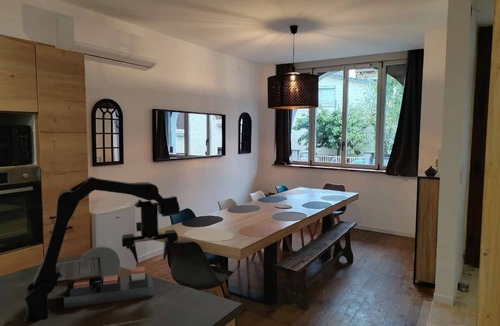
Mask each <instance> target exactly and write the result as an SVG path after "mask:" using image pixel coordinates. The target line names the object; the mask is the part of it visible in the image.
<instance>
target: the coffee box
mask: <svg viewBox="0 0 500 326" xmlns="http://www.w3.org/2000/svg"><path fill="white" fill-rule="evenodd" d="M56 267H60V276H59V278H58V280H57V286H55V287H54V289H53V290H56V289H62V288H67V287H68V286H69V285H72V282H75V280H82V279H90V280H93V282H96V281H101V279H102V263H101V259H100V257H97V258H90V259H84V260H80V259H77V260H71V261H64V262H57V263H56Z"/></svg>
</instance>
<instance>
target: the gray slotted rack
mask: <svg viewBox="0 0 500 326" xmlns="http://www.w3.org/2000/svg"><path fill="white" fill-rule="evenodd" d="M103 280H104V278H102V279H101V282H94V283H93V280H90V287H82V288H74V287H73V285H74V282H72V285H69V286H68V287H66V291H65V293H64V296H63V308H64V309H70V308H77V307H84V306H90V305H92V306H93V305H98V304H104V303H105V304H106V303H112V302H120V301H125V300H132V299H141V298H146V297H154V295H155V292H154V291H155V286H154V281H153V276H152V275H148V273H147V272H145V279H144V280H136V281H132V279H131V274H128V278H127V277H126V278H121V276H118V283H114V284H106V285H103Z"/></svg>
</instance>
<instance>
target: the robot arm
mask: <svg viewBox="0 0 500 326" xmlns="http://www.w3.org/2000/svg"><path fill="white" fill-rule="evenodd" d="M94 191H101V192H109V193H114V194H115V193H117V194H123V195H124V194H125V195H129V196H130V195H131V196H134V197H137V198H139V199H138V200H137V202H135V203H134V207H136V208H137V209H138V208H140V221H139V222H136V223H135V224H136V225H135V227H136V232H140V235H138V236H137V235H134V234H135V233H129V234H123V235H122V236H121V246H122V247H123V248H124V247H126V249H127V250H128V249H129V251H130V252H131V253H132V255H133V257H134V260H135V262H136V265H137V264H139V257H138V254H137V253H138V252H137V248H136V243H137V242H146V241H147V242H148V241H157V240H163V242H164V243H163V254H162V258H163V261H166V257H167V254H168V253H169V250H170V248H171V246H172V245H173V244H174V243H175V242H177V241H178V240H179V238H178V237H179V235H178V233H177V230H175V229H169V230H168V229H166V230H164V232H163V233H159V215H161V217H171V216H179V215H180V211H181V210H180V209H181V207H180V204H179V201H178V197H177V196H174V195H173V196H170V197H163V196H162V195H161V194H160V193H159V192H160V191H159V188H158V186H157V185H155V184H154V183H152V182H149V181H148V182H147V181H143V182H142V181H141V182H140V181H139V182H125V181H119V180H111V179H104V178H98V177H97V178H96V177H94V176H89V177H87V178H86V179H84V180H83V181H81V182H80V183H78V184H77V185H74V186H73V187H71V188H70V189H67V188H65V189H63V190H61V191H60V192H59V193H58V194H57V197H56V206H55V207H56V209H55V219H54V222H53V227H52V229H51V233H50V236H49V239H48V244H47V246H46V250H45V254H44V258H43V260H42V262H41V263H40V265H39V266H38V269H37V271H36V273H35V274H34V276H33V281H32V282H31V283H30V284H29V285H27V287H26V288H25V295H24V301H25V313H26V314H25V317H24V319H23V321H22V323H28V322H29V323H30V322H37V321H42V320H48V319H49V316H50V314H51V312H52V309H51V308H49V300H48V299H49V298H48V296H49V294H50V293H52V292H53V291H54V290H55V289H54V287H55V286H57V280H58V278H59V276H60V267H56V263H58V260H59V256H60V252H61V249H62V245H63V243H64V240H65V239H64V238H65V235H66V231H67V228H68V225H69V222H70V220H71V219H72V218H71V217H72V216H73V215H74V213H75V211H76V209H77V207H78V205H79V203H80V202H81V201H82V200H83V199H84V198H86V197H87V196H88V195H90V194H91V193H92V192H94ZM141 199H143V201H142V200H141ZM144 200H145V201H144ZM153 201H155V202H153ZM158 214H159V215H158Z"/></svg>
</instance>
